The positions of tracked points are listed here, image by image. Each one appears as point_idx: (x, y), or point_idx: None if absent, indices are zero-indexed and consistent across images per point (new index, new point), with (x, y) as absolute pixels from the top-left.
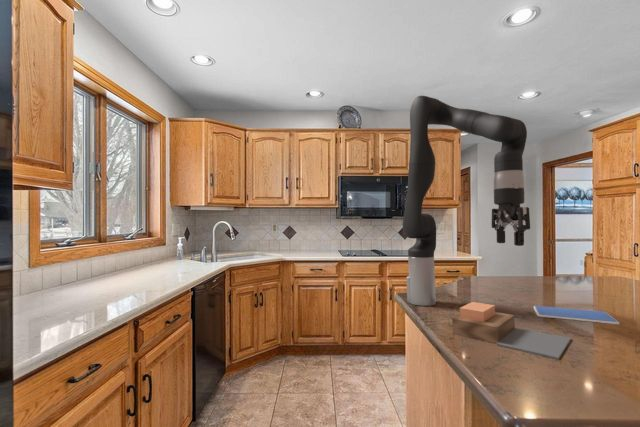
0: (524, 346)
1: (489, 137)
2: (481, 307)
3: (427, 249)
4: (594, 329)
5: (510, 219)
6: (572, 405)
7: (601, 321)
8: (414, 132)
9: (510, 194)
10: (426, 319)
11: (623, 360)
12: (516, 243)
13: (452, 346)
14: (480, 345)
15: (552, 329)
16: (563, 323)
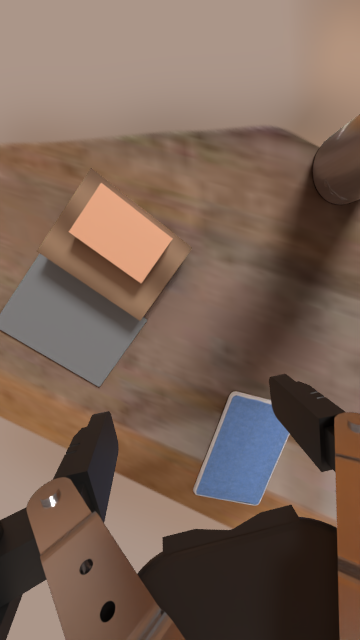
0: (36, 292)
1: None
2: (113, 242)
3: None
4: (161, 444)
5: (56, 594)
6: None
7: (200, 473)
8: None
9: None
10: (198, 145)
11: (16, 412)
12: (92, 421)
13: (18, 157)
14: (37, 217)
15: (153, 381)
16: (191, 414)
